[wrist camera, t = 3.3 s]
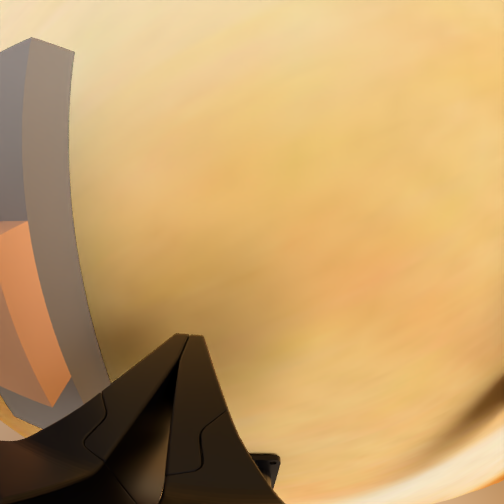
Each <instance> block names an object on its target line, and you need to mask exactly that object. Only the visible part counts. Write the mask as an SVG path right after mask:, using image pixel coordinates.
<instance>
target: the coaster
mask: <svg viewBox="0 0 504 504" xmlns="http://www.w3.org/2000/svg"><path fill="white" fill-rule="evenodd" d="M70 378H71V375H70V372H69V370H68V367H67V365H66V362H65V360H64V357H63V355H62V352H61V349H60V347H59V344H58V341H57V338H56V335H55V332H54V329H53V326H52V323H51V320H50V317H49V314H48V310H47V307H46V304H45V300H44V296H43V293H42V289H41V285H40V281H39V277H38V273H37V268H36V264H35V259H34V254H33V249H32V243H31V238H30V232H29V225H28V221H0V386H1V387H3V388H6V389H8V390H10V391H12V392H15V393H17V394H19V395H22V396H24V397H26V398H29V399H31V400H34V401H36V402H39V403H41V404H44V405H47V406H50V407H52V408H53V406H54V404H55V403H56V401H57V399H58V398H59V396H60V394H61V393H62V391H63V390H64V388H65V386H66V385H67V383H68V381H69V380H70Z"/></svg>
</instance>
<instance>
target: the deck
mask: <svg viewBox="0 0 504 504" xmlns="http://www.w3.org/2000/svg"><path fill="white" fill-rule="evenodd" d="M73 59H74V52H73V51H70V50H68V49H65V48H62V47H59V46H57V45H54V44H51V43H48V42H45V41H42V40H39V39H36V38H32V37H31V38H29V39H26V40H24V41H22V42H20V43H18V44H16V45H14V46H12V47H9V48H7V49H5V50H4V51H2V52H0V221H28V225H29V232H30V238H31V243H32V249H33V254H34V259H35V264H36V268H37V273H38V277H39V281H40V285H41V289H42V293H43V296H44V300H45V304H46V307H47V310H48V314H49V317H50V320H51V323H52V326H53V329H54V332H55V335H56V338H57V341H58V344H59V347H60V349H61V352H62V355H63V357H64V360H65V362H66V365H67V367H68V370H69V372H70V375H71V378H70V380H69V381H68V383H67V385H66V386H65V388H64V390H63V391H62V393H61V394H60V396H59V398H58V399H57V401H56V403H55V404H54V406H53V408H52V407H50V406H47V405H44V404H41V403H39V402H36V401H34V400H31V399H29V398H26V397H24V396H22V395H19V394H17V393H15V392H12V391H10V390H8V389H6V388H3V387H1V386H0V395H1V397H2V398H3V400H4V401H5V403H6V405H7V406H8V408H9V409H10V411H11V412H12V414H13V415H14V416H15V417H17V418H19V419H21V420H23V421H26V422H28V423H30V424H32V425H35V426H37V427H39V428H42V429H44V428H46V427H48V426H50V425H51V424H53V423H55V422H57V421H58V420H60V419H62V418H63V417H65V416H67V415H68V414H70V413H71V412H73V411H75V410H76V409H78V408H79V407H81V406H82V405H83V404H85V403H86V402H88V401H89V400H90V399H92V398H93V397H94V396H96V395H97V394H98V393H102V390H104V389H105V388H106V387H108V386H109V385H110V384H111V383H110V380H109V377H108V374H107V371H106V368H105V365H104V362H103V358H102V355H101V352H100V349H99V345H98V342H97V338H96V335H95V331H94V327H93V324H92V320H91V316H90V312H89V308H88V303H87V299H86V294H85V290H84V285H83V280H82V275H81V269H80V264H79V258H78V252H77V245H76V238H75V231H74V223H73V214H72V204H71V192H70V176H69V103H70V88H71V77H72V67H73Z"/></svg>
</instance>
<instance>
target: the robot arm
mask: <svg viewBox="0 0 504 504" xmlns="http://www.w3.org/2000/svg"><path fill="white" fill-rule="evenodd" d="M279 467H280V457H279V456H276V455H250V454H249V453H248V451H247V449H246V448H245V446H244V444H243V442H242V440H241V438H240V437H239V435H238V432H237V430H236V428H235V425H234V423H233V420H232V418H231V415H230V412H229V410H228V407H227V404H226V402H225V399H224V396H223V393H222V390H221V387H220V384H219V381H218V379H217V376H216V373H215V370H214V367H213V364H212V360H211V357H210V354H209V351H208V348H207V345H206V342H205V339H204V336H202V335H190V336H189V335H188V334H179V333H176V334H174V335H173V336H172V337H171V338H169V339H168V340H167V341H165V342H164V343H163V344H162V345H160V346H159V347H158V348H157V349H155V350H154V351H153V352H151V353H150V354H149V355H148V356H146V357H145V358H144V359H142V360H141V361H140V362H139V363H137V364H136V365H135V366H133V367H132V368H131V369H130V370H128V371H127V372H126V373H124V374H123V375H122V376H121V377H119V378H118V379H117V380H115V381H114V382H113V383H112V384H110V385H109V386H108V387H106V388H105V389H104V390H102V393H98V394H97V395H96V396H94V397H93V398H92V399H90V400H89V401H88V402H86V403H85V404H83V405H82V406H81V407H79V408H78V409H76V410H75V411H73V412H71V413H70V414H68V415H67V416H65V417H63V418H62V419H60V420H58V421H57V422H55V423H53V424H51V425H50V426H48V427H46V428H44V429H43V430H41V431H39V432H37V433H36V434H34V435H32V436H30V437H28V438H25V439H22V440H18V441H0V504H285V503H284V502H283V501H282V500H281V499H280V498H279V497H278V495H277V494H276V493H275V492H274V490H273V488H274V484H275V481H276V477H277V474H278V470H279ZM163 485H164V487H163ZM162 489H163V492H162ZM161 492H162V496H161ZM160 496H161V498H160ZM159 500H160V501H159Z"/></svg>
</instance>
